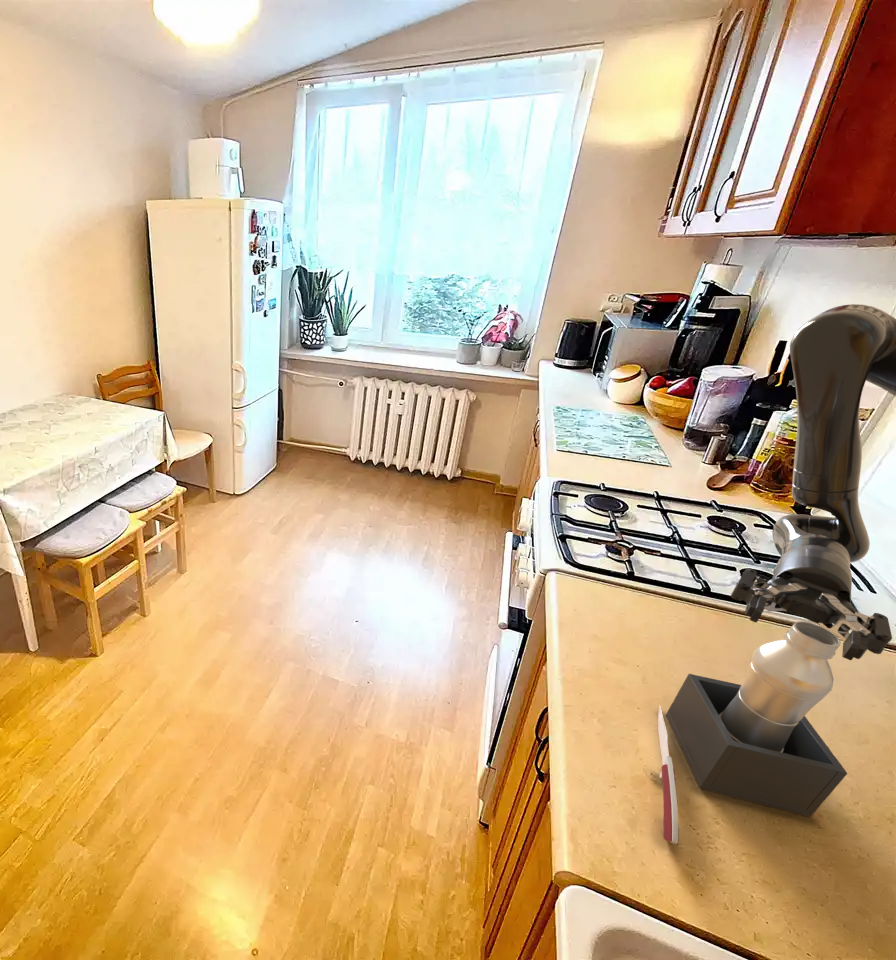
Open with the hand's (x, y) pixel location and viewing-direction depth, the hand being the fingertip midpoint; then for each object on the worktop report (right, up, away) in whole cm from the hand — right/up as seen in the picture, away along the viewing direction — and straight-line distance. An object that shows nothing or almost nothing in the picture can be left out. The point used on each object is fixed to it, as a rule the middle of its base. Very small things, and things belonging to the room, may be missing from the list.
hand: (801, 634), depth 63 cm
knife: (-18, -17, -1) cm, 25 cm away
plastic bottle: (-8, -15, 0) cm, 17 cm away
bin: (-8, -16, 0) cm, 18 cm away
